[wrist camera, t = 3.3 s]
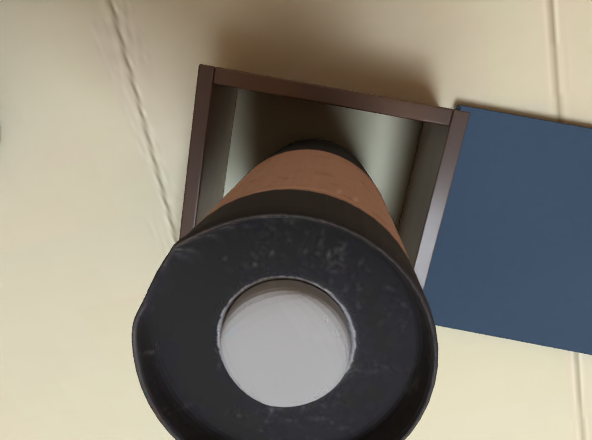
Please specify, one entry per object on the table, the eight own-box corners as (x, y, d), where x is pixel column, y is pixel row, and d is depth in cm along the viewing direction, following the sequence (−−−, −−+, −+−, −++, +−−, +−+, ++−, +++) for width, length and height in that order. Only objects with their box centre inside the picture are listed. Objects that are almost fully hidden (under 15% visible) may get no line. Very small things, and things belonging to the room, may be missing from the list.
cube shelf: (201, 269, 33) (170, 310, 26) (227, 70, 29) (198, 63, 23) (391, 305, 32) (406, 356, 26) (440, 108, 29) (470, 112, 22)
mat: (403, 313, 32) (405, 319, 31) (456, 104, 29) (461, 105, 28) (698, 369, 32) (710, 378, 31) (791, 164, 28) (807, 166, 27)
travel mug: (384, 236, 31) (471, 468, 12) (272, 261, 32) (181, 512, 13) (358, 120, 29) (409, 168, 10) (241, 150, 30) (80, 248, 11)
